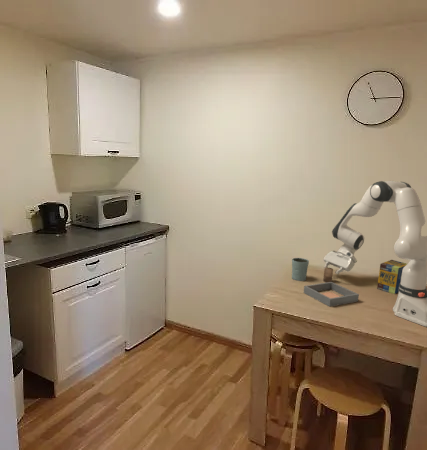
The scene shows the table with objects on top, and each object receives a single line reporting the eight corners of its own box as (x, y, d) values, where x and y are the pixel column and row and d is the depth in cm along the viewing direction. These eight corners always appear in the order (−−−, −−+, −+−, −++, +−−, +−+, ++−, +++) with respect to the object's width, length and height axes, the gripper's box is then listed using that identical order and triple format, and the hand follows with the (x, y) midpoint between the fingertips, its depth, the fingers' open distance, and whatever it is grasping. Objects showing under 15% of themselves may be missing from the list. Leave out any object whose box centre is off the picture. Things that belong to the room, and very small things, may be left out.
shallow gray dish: (357, 301, 194) (358, 294, 193) (329, 306, 185) (330, 299, 184) (330, 288, 211) (331, 281, 211) (303, 292, 202) (304, 285, 202)
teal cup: (295, 281, 220) (296, 262, 217) (287, 276, 229) (289, 257, 227) (310, 281, 222) (312, 262, 220) (301, 275, 232) (303, 257, 230)
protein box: (376, 288, 214) (380, 263, 211) (387, 283, 224) (391, 259, 221) (394, 294, 207) (398, 268, 204) (405, 288, 217) (409, 263, 214)
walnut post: (333, 282, 222) (334, 269, 221) (327, 283, 220) (328, 270, 218) (327, 279, 226) (328, 267, 225) (321, 280, 224) (322, 268, 223)
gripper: (329, 246, 233) (316, 262, 231) (354, 255, 215) (340, 273, 213) (334, 253, 236) (321, 269, 233) (359, 262, 218) (345, 279, 215)
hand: (330, 271), depth 223 cm, fingers open, 8 cm apart
